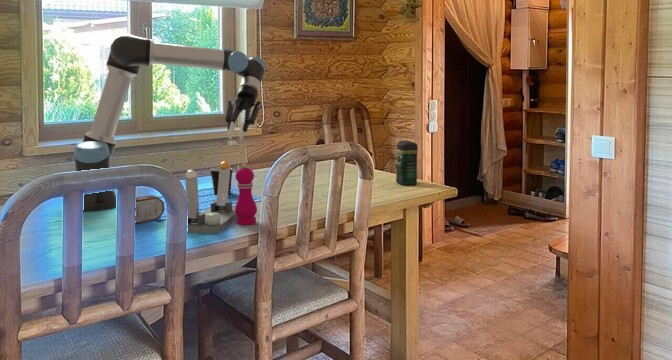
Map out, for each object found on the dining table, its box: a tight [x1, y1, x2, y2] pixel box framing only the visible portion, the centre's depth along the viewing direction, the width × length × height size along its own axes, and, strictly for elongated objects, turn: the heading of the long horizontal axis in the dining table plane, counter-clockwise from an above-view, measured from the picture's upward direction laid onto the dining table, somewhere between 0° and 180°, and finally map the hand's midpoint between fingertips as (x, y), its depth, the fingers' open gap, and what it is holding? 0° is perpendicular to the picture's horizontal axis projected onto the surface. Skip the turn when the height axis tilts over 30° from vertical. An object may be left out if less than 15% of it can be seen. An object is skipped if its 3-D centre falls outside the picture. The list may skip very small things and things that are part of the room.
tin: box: [135, 195, 165, 224], centre depth 202 cm, size 15×3×8 cm, turn 133°
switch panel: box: [187, 200, 238, 235], centre depth 201 cm, size 12×26×5 cm, turn 170°
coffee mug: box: [210, 166, 233, 196], centre depth 244 cm, size 12×9×10 cm
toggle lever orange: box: [216, 160, 231, 211], centre depth 209 cm, size 4×4×17 cm
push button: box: [206, 213, 220, 225], centre depth 191 cm, size 4×4×3 cm
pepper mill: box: [235, 163, 258, 226], centre depth 198 cm, size 7×7×20 cm
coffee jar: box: [395, 140, 419, 186], centre depth 259 cm, size 10×8×19 cm
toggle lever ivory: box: [184, 169, 200, 223], centre depth 191 cm, size 4×4×17 cm
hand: (234, 137), depth 227 cm, fingers open, 4 cm apart
